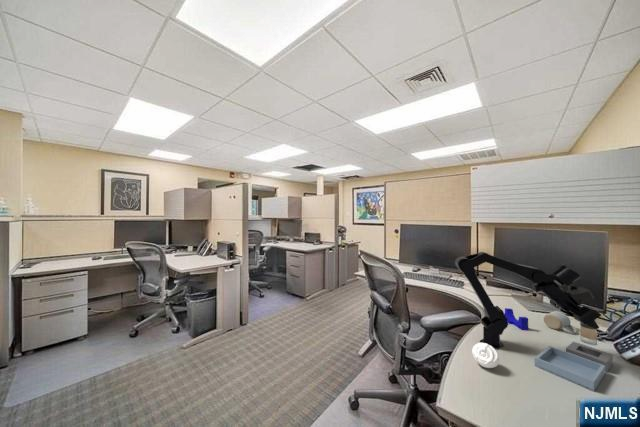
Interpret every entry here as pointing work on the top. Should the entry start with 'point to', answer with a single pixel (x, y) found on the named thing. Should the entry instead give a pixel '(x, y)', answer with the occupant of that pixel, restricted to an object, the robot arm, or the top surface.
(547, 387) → the top surface
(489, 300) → the robot arm
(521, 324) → the blue angular block
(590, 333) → the fuse
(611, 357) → the fuse holder
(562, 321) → the ceramic mug
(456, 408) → the top surface
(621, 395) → the top surface
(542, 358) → the parts tray
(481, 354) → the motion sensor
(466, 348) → the top surface
